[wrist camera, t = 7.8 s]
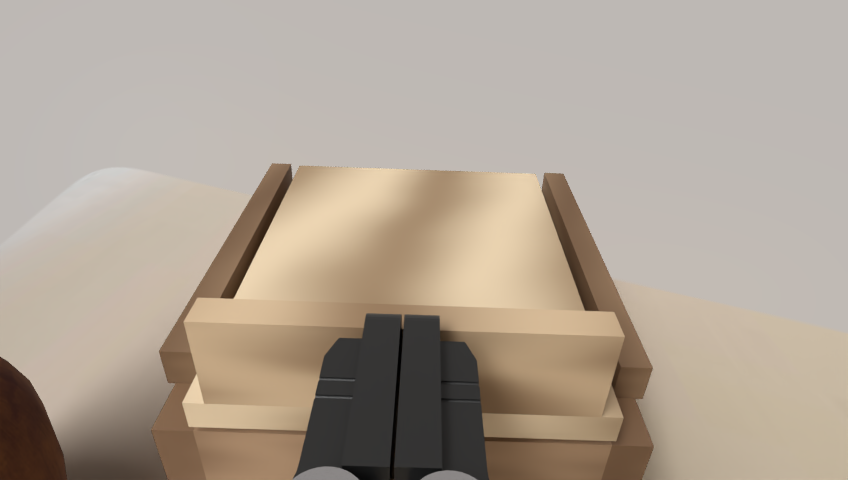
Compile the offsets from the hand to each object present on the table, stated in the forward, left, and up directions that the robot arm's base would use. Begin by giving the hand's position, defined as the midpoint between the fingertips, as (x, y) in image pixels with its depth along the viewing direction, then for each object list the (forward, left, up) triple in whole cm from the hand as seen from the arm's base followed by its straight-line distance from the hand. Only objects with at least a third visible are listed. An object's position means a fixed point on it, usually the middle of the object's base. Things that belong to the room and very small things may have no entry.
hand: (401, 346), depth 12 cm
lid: (0, -7, -3) cm, 7 cm away
